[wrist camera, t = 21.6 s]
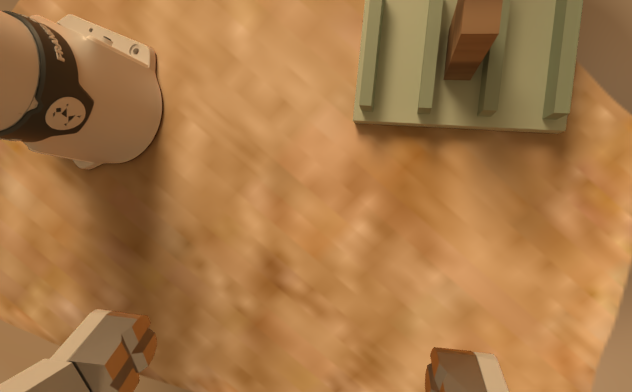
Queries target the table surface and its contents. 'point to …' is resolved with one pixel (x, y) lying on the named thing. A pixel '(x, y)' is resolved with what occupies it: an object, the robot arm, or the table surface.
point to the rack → (487, 82)
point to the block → (471, 36)
